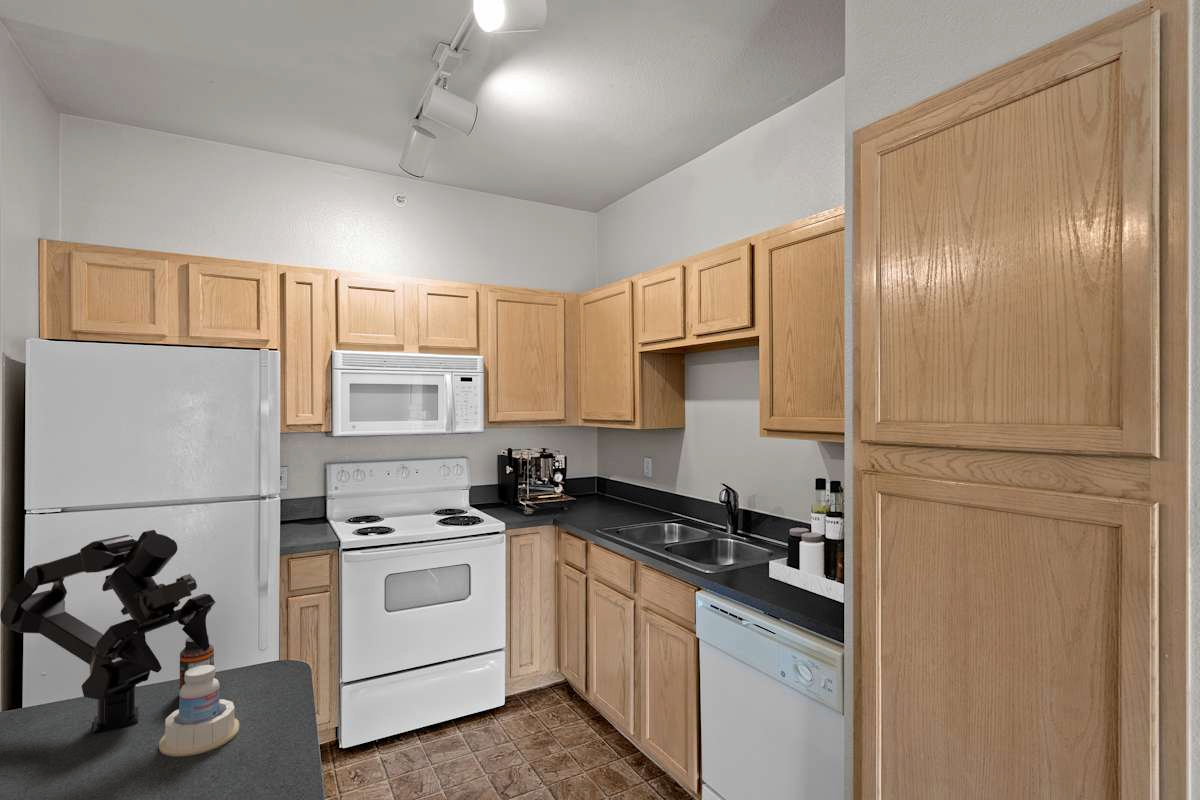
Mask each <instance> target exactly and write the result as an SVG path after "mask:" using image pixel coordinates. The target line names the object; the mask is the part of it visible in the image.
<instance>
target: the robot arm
mask: <svg viewBox="0 0 1200 800" xmlns="http://www.w3.org/2000/svg"><path fill="white" fill-rule="evenodd" d="M177 552H178V544H177V542H176V541H175V539H172V538H170V537H169V536H167V535H165V534H162V533H161V534H160V533H157V531H156V530H155V529H151V530H146V531H142V533H141V534H140V535H139V538H138V539H137V540H136V539H134V538H133V536H132V535H130V534H125V535H118V536H114V537H109V538H103V539H99V540H95V541H92V542H90V543H88V544H87V545H85V546H83V547H81V549H80V550H79V552H77V553H74V554H71V555H68V556H65V557H62V558H59V559H55V560H52V561H49V562H46V563H41V564H37V565H36V564H35V565H33V566H32V567H29V568H27V570H26V571H25V574H24V577H23V579H22V580H21V581H20V582H19V583H18V584H17V585H15V587H14V588H13V589H12V590H11V591H10V592H9V593H8V594H7V596H6V597H5V601H4V603H3V606H2V607H1V610H0V621H1V623H2V624H3V625H4V626H5V627H6V628H8V629H10V630H12V631H14V632H17V633H21V634H40V635H42V636H44V637H45V638H47V639H48V640H49V641H51V642H53V643H55V645H58V646H60V648H62V649H63V650H66V651H67V652H68V653H70V654H72V655H74V656H75V657H77V658H78V659H79V660H82V661H83V662H84V663H86V664H88V666H89V676H88V677H87V679H85V681H84V682H83V683H82V684H81V689H82V690H81V691H82V695H83V697H84V698H88V699H94V700H96V716H95V717H94V720H93V721H94V722H93V734H96V733H97V734H98V733H101V732H104V731H109V730H113V729H117V728H120V727H126V726H128V725H133V724H136V723H138V722H139V707H138V706H136V701H137V698H136V696H137V694H136V692H137V690H136V688H137V685H138V684H141V683H143V682H146V681H148V680H149V677H150V674H151V671H152V672H154V673H159V672H160V671H161V670H162V665H161V664H160V661H159V659H158V658H157V656H156V655H155V653H154V652H153V650H152V649H151V648H150V646H149V644H148V643H147V639H146V633H148V632H149V633H150V632H152V631H154V630H157V629H159V628H162V627H165V626H167V625H170V624H174V623H177V622H178V624H179V625H181V626H183V627H182V628H181V630H182V631H183V632H184V633H185V634H186V635H187V636H188V637H190V638H191V639H192V640H193V641H194V642H195V643H196V644H197V645H198V646H199V647H200V648H201V649H203V650H204V651H207V650H208V649H209V644H210V640H209V641H208V638H209V634H208V631H207V630H208V629H207V615H208V613H210V612H211V611H212V607H213V606H214V605H215V604H216V600H215V599H214V598H213V596H212V595H211V594H210V593H203V594H200V595H196V596H195V597H191V598H188V600H187V601H186V602H185V603H184V604H183V605H182V607H181V608H179V609H177V610H176V609H175V608H176V607H179V605H180V604H181V601H180V600H182V599H184V598H186V597H190V596H192V595H193V594H192V592H193V591H195V590H197V588H198V584H197V580H196V579H195V578H194V577H193V576H192V574H190V573H188V574H185V575H181V576H180V577H178V578H176V579H175V582H172V583H170V584H163V583H160V584H158V583H156V581H155V579H154V578H153V577H154V576H157V575H158V574H160V572H162V570H163V569H164V568H165V566H166V565H167V564H168V563H169V562H170V561H171V560H172V558H173V557H174V556H175V555H176V553H177ZM112 569H115V570H114V571H113V572H112V573H111V574H109V575H106V576H105V577H104V578H105V580H104V581H103V584H102V588H101V589H102V591H103V592H107V591H110V590H113V592H114V594H115V595H116V596H117V598H118V599H119V601H120V603H121V604H122V606H123V608H122V609H121V610H120V613H121V614H122V615H123V616H125V615H128V614H129V616H130V617H131V618H130V619H127V620H124V621H122V622H118V623H116V624H113V625H110V626H109V627H108V629H107V630H106V631H105V632H104V633H102V632H100V631H98V630H96V629H95V628H94V627H92V626H90V625H89V624H87V623H85V622H83V621H82V620H80V619H79V618H76V617H75V616H73V615H72V614H70V613H69V612H68V611H66V608H65V607H66V605H65V603H66V601H65V598H66V596H67V594H68V591H67V589H66V586H65V584H64V580H65V578H69V577H72V576H75V575H79V574H82V573H87V574H88V573H90V574H91V573H92V574H93V573H101V572H105V571H109V570H112ZM51 583H52V587H51V589H50V590H49V589H48V590H45V591H39V592H37V593H35V592H36V591H37V590H38V588H39V586H44V585H47V584H51Z"/></svg>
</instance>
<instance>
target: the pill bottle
mask: <svg viewBox="0 0 1200 800" xmlns="http://www.w3.org/2000/svg"><path fill="white" fill-rule="evenodd" d="M215 676H216V667H215V665H214V666H213V665H201V666H197V667H193V668H191V669H189V670H187V671H186V672H185V677H184V680H185V682H186V684H184V685H183V686H182V688H181V689H180V688H179V689H180V690H179V695H178V696H179V699H178V700H179V702H178V705H179V706H178V709H179V724H180V725H193V724H199V723H202V722H206V721H210V720H212V719H214V718H216V717H218V716H219V699H220V682H219V680H218V679H217V678H215ZM213 677H214V678H213Z"/></svg>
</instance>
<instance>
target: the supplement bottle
mask: <svg viewBox="0 0 1200 800" xmlns="http://www.w3.org/2000/svg"><path fill="white" fill-rule="evenodd" d="M208 641H209V642H210V640H209V637H208ZM214 648H215V647H214V646H213V644H211V643H209V649H208V650H207V651H204V650H203V649H201V648H200V647H199V646H198V645H197V644H196V643H195V642H194V641H193V640H192V639H191V638H190V637H189V636H188V637H187V638H186V639H185V647H184V648H183V649H182V650H181V651H180V653H179V689H178V690H179V691H180V689H181V688H182V686H183V685H184V684H186V682H185V680H184V677H185V672H186V671H187V670H189V669H191V668H193V667H197V666H201V665H213V666H214V667H215V649H214ZM213 678H215V676H214V677H213Z"/></svg>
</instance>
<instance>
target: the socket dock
mask: <svg viewBox="0 0 1200 800" xmlns="http://www.w3.org/2000/svg"><path fill="white" fill-rule="evenodd" d="M164 722H165V725H164V728H165V729H164V732H165V733H164V735H163V736H162V737H161V738H160V739H159V741H158V742H159V743H158V750H159V751H160V753H161V754H163V755H164V756H166V757H173V758H175V757H176V758H179V757H180V758H182V757H189V756H196V755H200V754H203V753H206V752H210V751H212V750H213V751H214V749H218V748H219V747H222V746H224V745H225V744H226V743H229V742H230V741H232V740H233V739H234V738H235V737H236V736H237V735H238V734H239V732H240V731H239V730H240V721H239V720H238V719H237V718H236V717H235V705H234V702H233V701H231V700H227V699H223V698H219V716H218V717H216V718H214V719H212V720H210V721H206V722H202V723H199V724H193V725H180V724H179V708H178V709H176V710H174V711H172V712H171V713H170V714H169V715H168V716H167V717H166V718H165V719H164Z"/></svg>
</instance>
